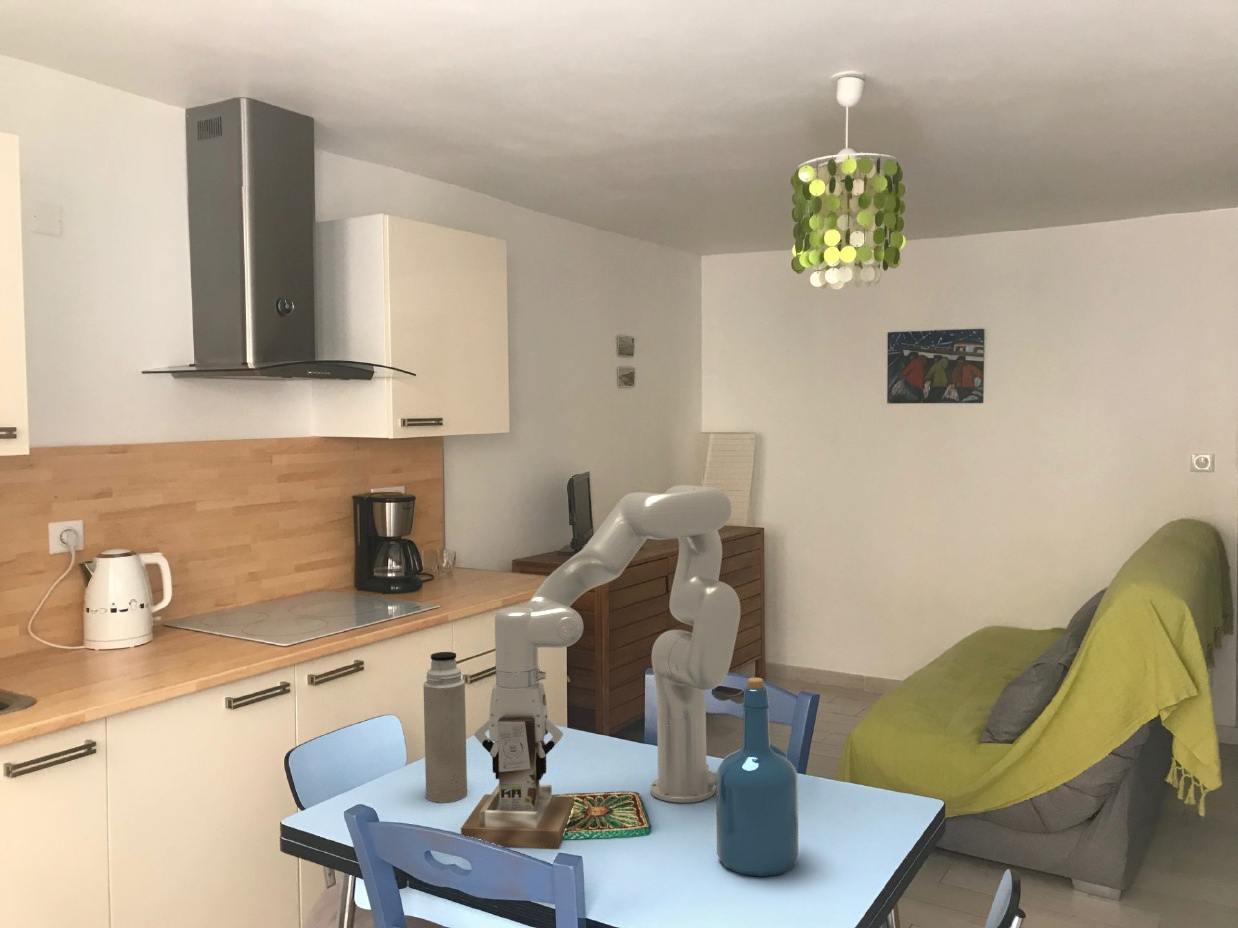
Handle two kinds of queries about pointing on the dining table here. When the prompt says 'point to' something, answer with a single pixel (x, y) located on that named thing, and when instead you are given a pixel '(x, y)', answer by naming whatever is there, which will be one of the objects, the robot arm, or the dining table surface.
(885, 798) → the dining table surface
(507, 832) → the dock
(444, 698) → the thermos bottle
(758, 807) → the wine bottle
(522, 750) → the coffee box
